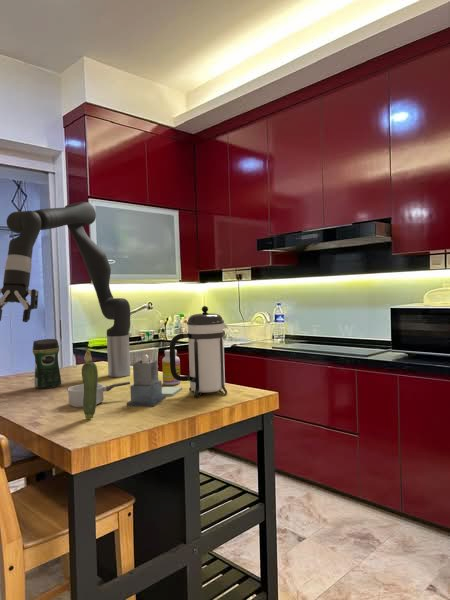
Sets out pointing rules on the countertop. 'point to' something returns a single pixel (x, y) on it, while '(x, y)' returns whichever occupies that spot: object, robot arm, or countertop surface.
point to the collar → (145, 372)
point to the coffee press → (203, 353)
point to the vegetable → (89, 385)
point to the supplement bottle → (167, 375)
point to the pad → (170, 390)
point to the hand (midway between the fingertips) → (11, 321)
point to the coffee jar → (46, 363)
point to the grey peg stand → (146, 392)
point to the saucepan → (78, 393)
